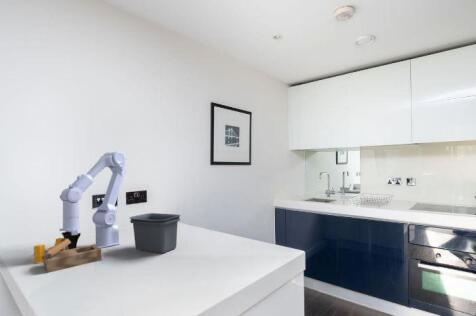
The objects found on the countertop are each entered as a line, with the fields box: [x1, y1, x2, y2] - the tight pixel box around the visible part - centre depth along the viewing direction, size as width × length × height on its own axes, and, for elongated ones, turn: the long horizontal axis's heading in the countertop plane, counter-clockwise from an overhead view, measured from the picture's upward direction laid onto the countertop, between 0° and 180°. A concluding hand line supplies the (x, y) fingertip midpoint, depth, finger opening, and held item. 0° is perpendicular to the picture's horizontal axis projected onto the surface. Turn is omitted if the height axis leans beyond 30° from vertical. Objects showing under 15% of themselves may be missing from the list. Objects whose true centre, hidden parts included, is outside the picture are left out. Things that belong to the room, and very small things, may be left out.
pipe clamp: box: [33, 237, 65, 264], centre depth 107 cm, size 12×4×6 cm, turn 171°
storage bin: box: [129, 212, 181, 254], centre depth 115 cm, size 21×16×14 cm
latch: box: [45, 239, 71, 257], centre depth 97 cm, size 8×4×1 cm
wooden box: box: [43, 244, 102, 273], centre depth 100 cm, size 17×10×6 cm, turn 133°
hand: (71, 249), depth 109 cm, fingers closed on peg, 4 cm apart
